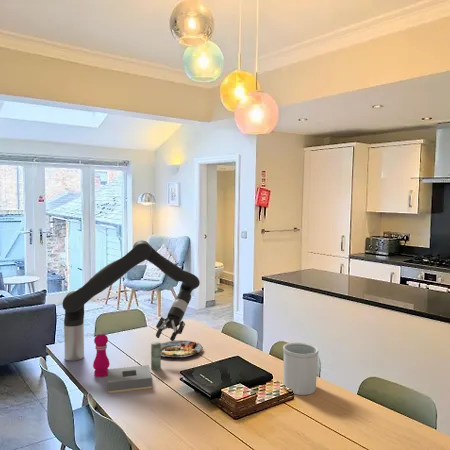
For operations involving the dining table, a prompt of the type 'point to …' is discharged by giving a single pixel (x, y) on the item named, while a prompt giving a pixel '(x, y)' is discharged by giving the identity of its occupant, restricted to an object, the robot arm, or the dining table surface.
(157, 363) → the sage pin
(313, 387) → the utensil holder
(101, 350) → the pepper mill
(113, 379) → the pin block
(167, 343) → the food plate
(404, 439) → the dining table surface
